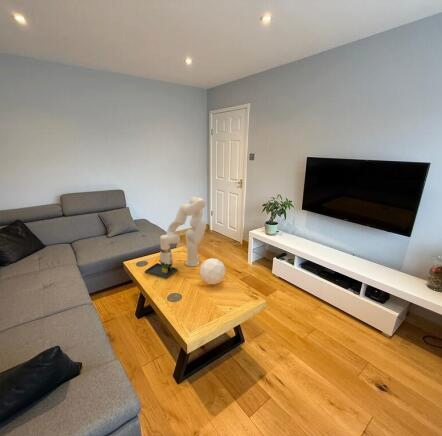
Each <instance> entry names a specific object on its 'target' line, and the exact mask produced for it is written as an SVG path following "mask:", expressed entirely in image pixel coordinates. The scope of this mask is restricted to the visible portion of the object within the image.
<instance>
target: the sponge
mask: <svg viewBox="0 0 442 436" xmlns="http://www.w3.org/2000/svg"><path fill="white" fill-rule="evenodd" d="M162 272H164V273H167V272H168V265H167V264H166V263H165V265H163V266H162Z"/></svg>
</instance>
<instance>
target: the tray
mask: <svg viewBox="0 0 442 436" xmlns="http://www.w3.org/2000/svg"><path fill="white" fill-rule="evenodd" d="M177 271H178V268H177V267H173V266H171V270H170V271H169V272H167V273H164V272H162V264H161V263H160V262H159V263H158V262H156V263H154V264H153V265H152V266H150V267H148V268H147V269H145V270H144V273H145V274H148V275H152V276H155V277H159V278H162V279H165V280H167V279H168V278H169V277H170V276H172V275H173V274H174V273H176V272H177Z"/></svg>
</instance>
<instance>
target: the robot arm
mask: <svg viewBox="0 0 442 436" xmlns="http://www.w3.org/2000/svg"><path fill="white" fill-rule="evenodd" d="M205 206H206V200H205V199H204V198H202V197H199V196H194V195H193V196H191V197H190V198H189V203H186V202H185V203H184V202H183V203H181V204H180V205H179V208H178V209H177V210H178V211H177V212H176V215H175V218H174V220H173V221H172V222H171V223H170V224H169V225H168V228H167V229H166V233H165V234H163V235H160V238H159V243H160V252H159V260H158V262H159V263H160V264H162V266H163V265H165V264H167V265H168V272H169V271H170V270H171V267H173V265H174V264H175V263H174V259H173V253H172V249H171V245H176V244H178V243H180V241H181V237H180V236H179V235H178V234H177V233H176V231H177V229H178V228H179V227H180V226H183V225H185V223H186V221H187V218H188V216H191V218H190V222H189V225H190V227H191V228H189V229H187V230H186V231H185V234H184V236H185V243H186V260H185V265H186V266H188V267H196V266H199V265H200V263H201V261H200V260H199V259H200V255H199V252H198V250H199V249H198V248H199V247H198V244H200V243H201V242H202V241H203V239H204V236H205V232H206V229H207V224H206V221H205V220H203V214H204V208H205Z"/></svg>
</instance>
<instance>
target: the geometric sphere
mask: <svg viewBox="0 0 442 436" xmlns="http://www.w3.org/2000/svg"><path fill="white" fill-rule="evenodd" d="M226 270H227V269H226V267H225V265H224V262H223V261H221V260H219V259H218V258H213V257H212V258H211V257H210V258H208V259H205V260H204V261H203V262H202V263H201V265H200V267H199V276H200V278H201V280H202V281H203V282H204V283H205V284H208V285H213V286H214V285H217V284H219V283H222V281H223V280H224V278H225V277H226Z"/></svg>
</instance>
